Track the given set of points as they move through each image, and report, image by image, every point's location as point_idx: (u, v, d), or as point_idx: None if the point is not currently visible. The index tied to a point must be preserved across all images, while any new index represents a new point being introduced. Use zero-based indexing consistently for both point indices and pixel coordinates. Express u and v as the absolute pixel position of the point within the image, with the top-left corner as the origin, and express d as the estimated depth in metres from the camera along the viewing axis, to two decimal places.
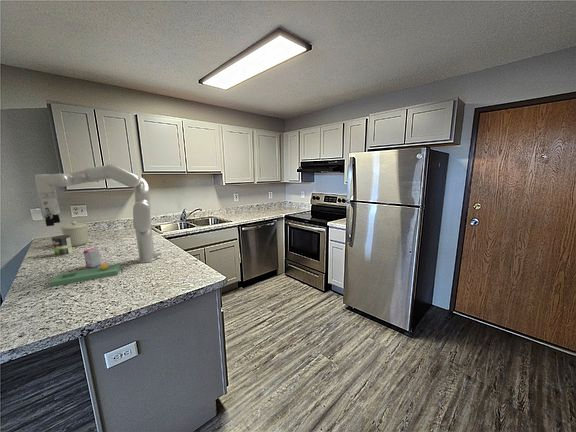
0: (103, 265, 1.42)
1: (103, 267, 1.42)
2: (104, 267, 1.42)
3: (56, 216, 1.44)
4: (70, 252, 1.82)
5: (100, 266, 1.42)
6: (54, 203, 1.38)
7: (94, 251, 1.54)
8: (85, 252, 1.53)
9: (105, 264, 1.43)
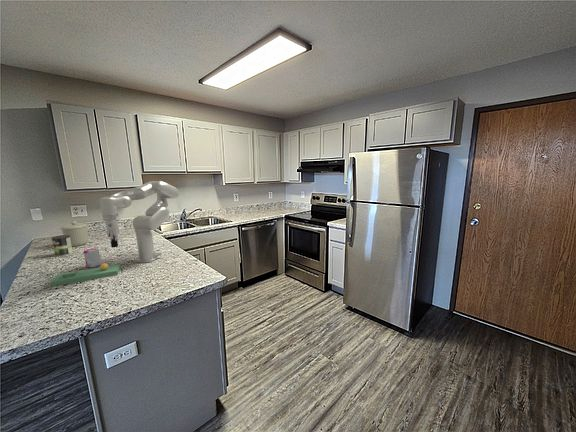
0: (103, 265, 1.42)
1: (103, 267, 1.42)
2: (104, 267, 1.42)
3: None
4: (70, 252, 1.82)
5: (100, 266, 1.42)
6: (116, 225, 1.42)
7: (94, 251, 1.54)
8: (85, 252, 1.53)
9: (105, 264, 1.43)
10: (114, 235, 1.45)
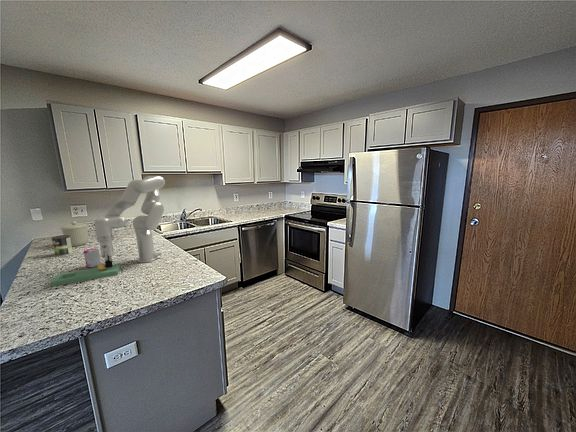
0: (99, 266, 1.41)
1: (100, 268, 1.42)
2: (101, 267, 1.42)
3: None
4: (70, 252, 1.82)
5: None
6: (111, 245, 1.42)
7: (94, 251, 1.54)
8: (85, 252, 1.53)
9: (100, 264, 1.42)
10: (109, 255, 1.45)
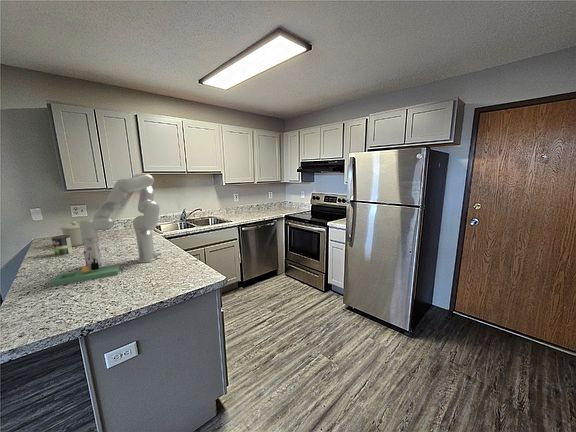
0: (88, 270, 1.39)
1: (85, 270, 1.38)
2: (85, 271, 1.38)
3: None
4: (70, 252, 1.82)
5: (88, 267, 1.39)
6: (96, 247, 1.39)
7: None
8: (85, 252, 1.53)
9: None
10: None
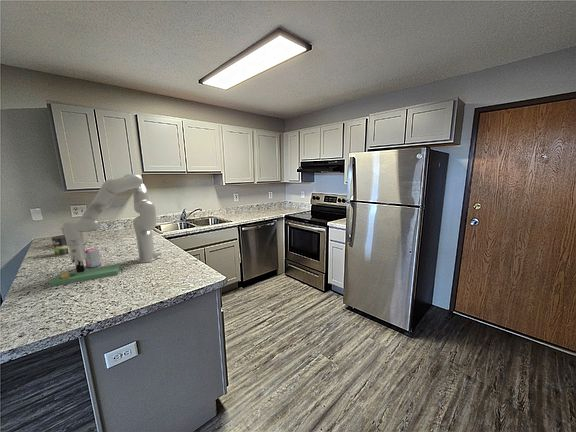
0: None
1: None
2: None
3: None
4: None
5: None
6: (81, 249, 1.36)
7: (94, 251, 1.54)
8: None
9: None
10: None
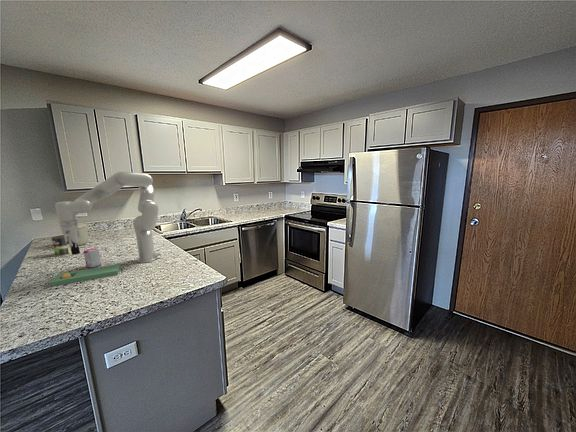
0: None
1: None
2: None
3: None
4: (70, 252, 1.82)
5: None
6: (76, 231, 1.33)
7: (94, 251, 1.54)
8: (85, 252, 1.53)
9: None
10: None
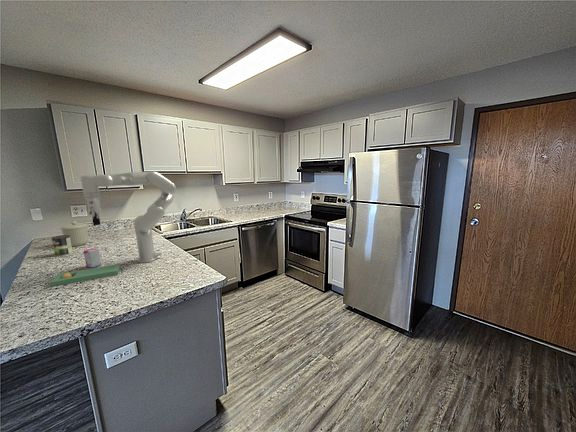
0: None
1: None
2: None
3: None
4: (70, 252, 1.82)
5: None
6: (98, 203, 1.44)
7: (94, 251, 1.54)
8: (85, 252, 1.53)
9: None
10: None
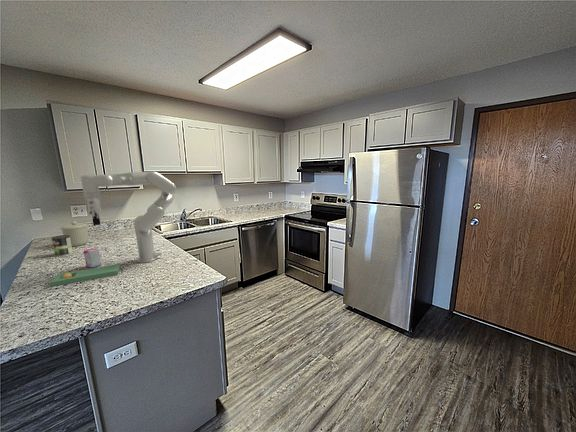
0: None
1: None
2: None
3: None
4: (70, 252, 1.82)
5: None
6: (98, 203, 1.44)
7: (94, 251, 1.54)
8: (85, 252, 1.53)
9: None
10: None
